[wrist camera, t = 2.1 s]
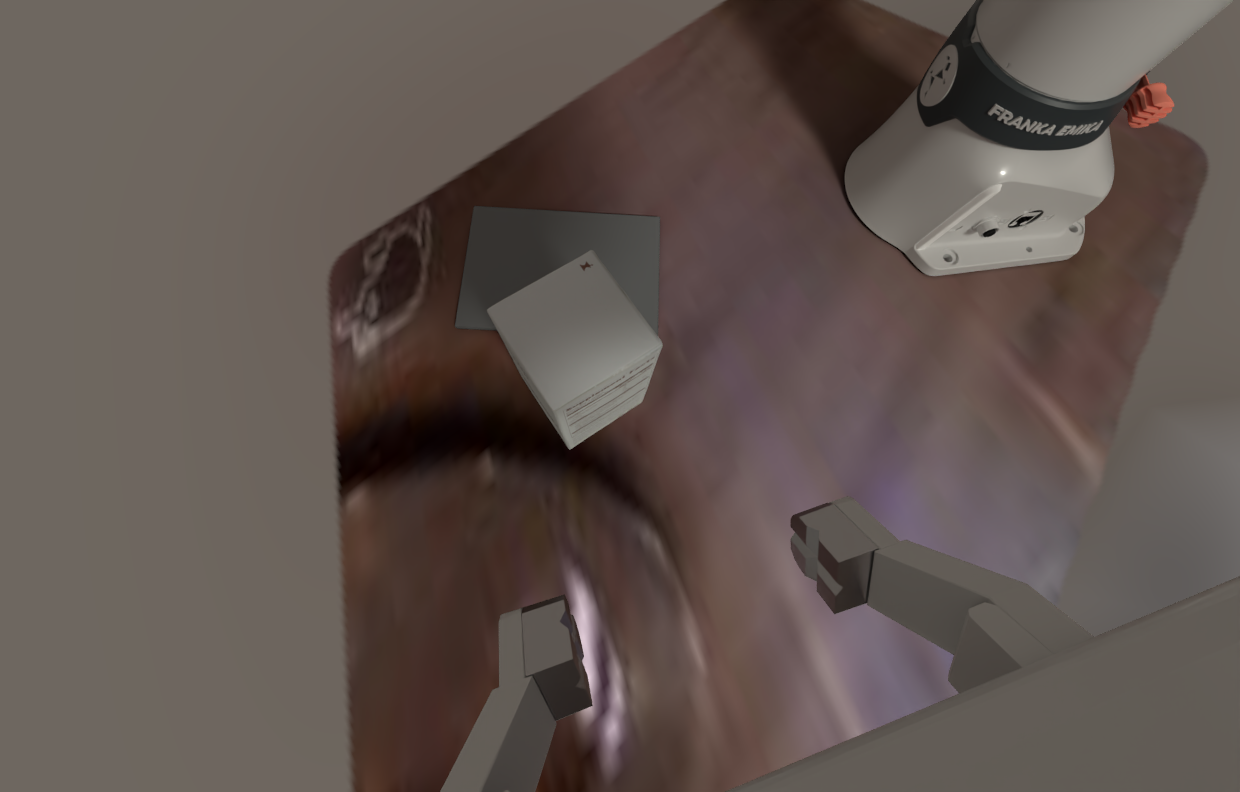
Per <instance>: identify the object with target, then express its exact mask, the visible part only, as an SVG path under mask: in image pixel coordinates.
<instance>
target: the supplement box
mask: <svg viewBox="0 0 1240 792" xmlns="http://www.w3.org/2000/svg"><path fill="white" fill-rule="evenodd" d="M487 312H488V314H489V316H490V318H491V320H492V322H493V323H494V325H495V327H496V329H497V331H498V333H499V334H500V336H501V338H502V340H503V342H504V344H505V346H506V348H507V350H508V352H509V354H510V356H511V358H512V359H513V361H514V363H515V365H516V367H517V369H518V371H519V373H520V375H521V376H522V378H523V380H524V381H525V383H526V384H527V386H528V387H529V389H530V390H531V392H532V394H533V395H534V397H535V398H536V400H537V401H538V403H539V404H540V406H541V407H542V409H543V410H544V412H545V413H546V415H547V417H548V418H549V420H550V421H551V423H552V424H553V426H554V427H555V429H556V430H557V432H558V433H559V435H560V436H561V438H562V439H563V441H564V442H565V444H566V446H567V447H568V449H572V448H573V447H575V446H576V445H578V444H579V443H581V442H582V441H584V440H585V439H587V438H588V437H590V436H591V435H593V434H594V433H596V432H597V431H599V430H600V429H602V428H603V427H605V426H606V425H608V424H609V423H611V422H613V421H614V420H616V419H617V418H619V417H620V416H622V415H623V414H625V413H626V412H628V411H629V410H631V409H632V408H634V407H635V406H637V405H638V404H640V403H641V402H642V401H643V398H644V396H645V393H646V390H647V388H648V385H649V382H650V379H651V376H652V373H653V370H654V367H655V364H656V362H657V359H658V356H659V353H660V351H661V349H662V347H663V344H662V342H661V340H660V339H659V337H658V336H657V335H656V333H655V332H654V331H653V329H652V328H651V327H650V325H649V324H648V323H647V322H646V320H645V319H644V318H643V316H642V315H641V314H640V312H639V311H638V310H637V308H636V307H635V306H634V304H633V303H632V302H631V300H630V299H629V297H628V296H627V294H626V293H625V292H624V290H623V289H622V288H621V287H620V286H619V284H618V283H617V282H616V280H615V279H614V278H613V276H612V275H611V274H610V272H609V271H608V270H607V268H606V267H605V266H604V264H603V263H602V262H601V260H600V259H599V258H598V256H597V255H596V253H595V252H594V251H593V250H590V251H588V252H587V253H585V254H583V255H582V256H580V257H578V258H576V259H575V260H573V261H571V262H569V263H567V264H566V265H564V266H562V267H560V268H559V269H557V270H555V271H553V272H551V273H550V274H548V275H546V276H544V277H542V278H541V279H539V280H537V281H535V282H534V283H532V284H530V285H528V286H526V287H525V288H523V289H521V290H519V291H518V292H516V293H514V294H512V295H510V296H509V297H507V298H505V299H503V300H501V301H500V302H498V303H496V304H495V305H493V306H491V307H490V308H488V309H487Z"/></svg>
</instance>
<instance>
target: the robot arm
mask: <svg viewBox="0 0 1240 792" xmlns="http://www.w3.org/2000/svg"><path fill="white" fill-rule="evenodd" d="M1232 1H1233V0H976V1H975V3H974V4H973V5H972V7H971V8H970V9H969V11H968V12H967V14H966V15H965V16H964V17H963V19H962V20H961V21H960V23H959V24H958V25H957V27H956V28H955V30H954V31H953V32H952V34H951V35H950V37H949V38H948V39H947V41H946V42H945V43H944V45H943V46H942V48H941V49H940V51H939V52H938V54H937V55H936V57H935V58H934V60H933V62H932V63H931V65H930V66H929V68H928V70H927V71H926V73H925V75H924V77H923V79H922V80H921V82H920V84H919V85H918V87H917V88H916V89H915V90H914V91H913V92H912V94H911V95H910V96H909V97H908V98H907V99H906V100H905V102H904V103H903V104H902V105H901V106H900V107H899V108H898V109H897V110H896V111H895V112H894V114H893V115H892V116H891V117H890V118H889V119H888V120H887V121H886V122H885V123H884V124H883V125H882V126H881V127H880V128H879V129H878V130H877V131H875V132H874V133H873V134H872V135H871V136H870V137H869V138H868V139H866V140H865V141H864V142H863V143H862V144H860V145H859V146H858V147H857V148H856V149H855V150H854V152H853V153H852V154H851V156H850V158H849V160H848V162H847V165H846V170H845V188H846V192H847V196H848V198H849V201H850V203H851V205H852V207H853V209H854V210H855V212H856V213H857V215H858V216H859V218H860V219H861V220H862V221H863V222H864V223H865V225H866V226H867V227H869V228H870V229H871V230H872V231H873V232H874V233H875V234H877V235H878V236H879V237H881V238H882V239H884V240H886V241H887V242H889V243H891V244H892V245H894V246H896V247H897V248H899V249H900V250H901V251H903V252H904V253H905V254H906V255H907V257H908V258H909V259H910V260H911V261H912V262H913V264H914V265H915V266H916V267H917V268H918V269H919V270H920V271H922V272H923V273H925V274H927V275H929V276H940V275H948V274H956V273H965V272H973V271H981V270H989V269H997V268H1005V267H1013V266H1022V265H1030V264H1038V263H1046V262H1054V261H1061V260H1066V259H1069V258H1070V257H1072V256H1073V255H1075V254H1076V253H1077V252H1078V251H1079V249H1080V247H1081V245H1082V242H1083V238H1084V232H1085V218H1084V216H1085V215H1086V214H1088V213H1089V212H1090V211H1092V210H1093V209H1094V208H1096V207H1097V206H1098V205H1099V204H1100V203H1101V202H1102V201H1103V200H1104V198H1105V197H1106V196H1107V194H1108V192H1109V191H1110V189H1111V186H1112V183H1113V178H1114V160H1113V153H1112V146H1111V139H1110V131H1109V125H1110V124H1111V122H1112V121H1113V120H1114V118H1115V117H1116V116H1117V114H1118V113H1119V112H1120V110H1121V109H1122V108H1124V109H1125V110H1126V111H1127V112H1128V122H1129V126H1130V127H1132V128H1141V127H1145V126H1148V125H1149V124H1148V123H1155V122H1157V121H1159V119H1158V118H1164V117H1165V116H1167V114H1166V113H1170V112H1171V111H1172V107H1174V103H1173V101H1172V99H1171V98H1170V97H1169V96H1168V95H1167V93H1166V89H1167V87H1166V85H1165V84H1164V83H1154V84H1149V82H1148V79H1147V76H1146V75H1147V74H1148V73H1149V72H1150V70H1151V69H1152V68H1153V67H1154V66H1155V65H1157V64H1158V63H1159V62H1160V61H1162V60H1163V59H1164V58H1165V57H1166V56H1168V55H1169V54H1170V53H1171V52H1172V51H1173V50H1175V49H1176V48H1177V47H1178V46H1180V45H1181V44H1182V43H1183V42H1184V41H1186V40H1187V39H1188V38H1189V37H1190V36H1192V35H1193V34H1194V33H1195V32H1196V31H1198V30H1199V29H1200V28H1201V27H1202V26H1204V25H1205V24H1206V23H1207V22H1208V21H1210V20H1211V19H1212V18H1213V17H1214V16H1216V15H1217V14H1218V13H1219V12H1220V11H1222V10H1223V9H1224V8H1225V7H1226V6H1228V5H1229V4H1230V3H1231V2H1232ZM791 528H792V529H793V530H794V531H795V533H794V535H793V536H792V538H791V550H792V553H793V556H794V559H795V561H796V563H797V565H798V566H799V568H800V569H801V571H802V572H803V573H804V575H805V576H806V577H809V578H811V579H813V580H815V581H817V592H818V593H819V595H820V596H821V597H822V599H823V600H824V601H825V602H826V604H827V605H828V606H829V608H830V609H831V610H832V612H833V613H834V614H837V613H839V612H842V611H845V610H848V609H851V608H854V607H857V606H860V605H863V604H866V603H867V605H868V606H870V607H872V608H873V609H875V610H877V611H879V612H880V613H882V614H884V615H885V616H887V617H889V618H891V619H892V620H894V621H896V622H898V623H899V624H901V625H903V626H905V627H906V628H908V629H910V630H911V631H913V632H915V633H917V634H918V635H920V636H922V637H924V638H925V639H927V640H929V641H931V642H932V643H934V644H936V645H937V646H939V647H941V648H943V649H944V650H946V651H948V652H950V653H951V654H953V655H954V657H953V660H952V664H951V667H950V670H949V674H948V681H949V682H950V683H951V685H952V686H953V687H954V688H955V689H956V690H957V691H958V693H959V694H957V695H955V696H952V697H950V698H947V699H945V700H943V701H940V702H938V703H936V704H933V705H931V706H928V707H926V708H924V709H921V710H919V711H916V712H914V713H912V714H909V715H907V716H904V717H902V718H900V719H897V720H895V721H893V722H890V723H888V724H885V725H883V726H881V727H878V728H876V729H873V730H871V731H869V732H866V733H864V734H861V735H859V736H857V737H854V738H852V739H850V740H847V741H845V742H842V743H840V744H838V745H835V746H833V747H830V748H828V749H826V750H823V751H821V752H818V753H816V754H814V755H811V756H809V757H807V758H804V759H802V760H799V761H797V762H795V763H792V764H790V765H787V766H785V767H783V768H780V769H778V770H775V771H773V772H771V773H768V774H766V775H764V776H761V777H759V778H756V779H754V780H752V781H749V782H747V783H744V784H742V785H740V786H737V787H735V788H732V789H730V790H728V791H725V792H1240V576H1239V577H1237V578H1234V579H1232V580H1230V581H1227V582H1225V583H1223V584H1220V585H1217V586H1215V587H1213V588H1210V589H1208V590H1206V591H1203V592H1201V593H1198V594H1196V595H1194V596H1191V597H1189V598H1186V599H1184V600H1182V601H1179V602H1177V603H1174V604H1172V605H1170V606H1167V607H1165V608H1163V609H1160V610H1158V611H1156V612H1153V613H1151V614H1149V615H1146V616H1144V617H1141V618H1139V619H1136V620H1134V621H1132V622H1129V623H1127V624H1124V625H1122V626H1120V627H1117V628H1115V629H1112V630H1110V631H1108V632H1105V633H1103V634H1100V635H1098V636H1096V637H1094V636H1092V635H1091V634H1090V633H1089V632H1087V631H1086V630H1085V629H1084V628H1082V627H1081V626H1080V625H1079V624H1077V623H1076V622H1075V621H1073V620H1072V619H1071V618H1070V617H1068V616H1067V615H1066V614H1065V613H1063V612H1062V611H1061V610H1059V609H1058V608H1057V607H1056V606H1054V605H1053V604H1052V603H1051V602H1049V601H1048V600H1047V599H1046V598H1044V597H1043V596H1042V595H1040V594H1039V593H1038V592H1037V591H1035V590H1034V589H1033V588H1032V587H1030V586H1029V585H1028V584H1025V583H1023V582H1020V581H1017V580H1014V579H1012V578H1009V577H1006V576H1003V575H1001V574H998V573H995V572H993V571H990V570H987V569H984V568H982V567H979V566H976V565H973V564H971V563H968V562H965V561H962V560H960V559H957V558H954V557H951V556H949V555H946V554H943V553H941V552H938V551H935V550H932V549H930V548H927V547H924V546H921V545H919V544H916V543H913V542H910V541H908V540H903V541H899V540H898V539H897V538H896V537H895V536H894V535H892V534H891V533H890V532H889V531H888V530H887V529H886V528H885V527H884V526H883V525H881V524H880V523H879V522H878V521H877V520H876V519H875V518H874V517H873V516H872V515H871V514H869V513H868V512H867V511H866V510H865V509H864V508H863V507H862V506H861V505H860V504H858V503H857V502H856V501H855V500H854V499H853V498H851V497H848V496H847V497H844V498H841V499H838V500H835V501H832V502H830V503H825V504H822V505H820V506H817V507H814V508H811V509H809V510H806V511H803V512H800V513H797V514H795V515H793V516H792V518H791ZM583 657H584V655H583V649H582V644H581V640H580V636H579V632H578V628H577V625H576V622H575V619H574V616H573V615H571V614H570V609H569V603H568V601H567V599H566V596H565V595H561V596H558V597H555V598H552V599H549V600H545V601H542V602H539V603H536V604H533V605H529V606H526V607H523V608H520V609H517V610H514V611H511V612H508V613H505V614H502V615H501V616H500V620H499V687H498V688H496V689H493V690H492V692H491V694H490V696H489V698H488V700H487V702H486V704H485V706H484V708H483V710H482V712H481V714H480V716H479V717H478V719H477V721H476V723H475V725H474V727H473V729H472V731H471V733H470V735H469V737H468V739H467V741H466V743H465V745H464V747H463V749H462V751H461V752H460V754H459V756H458V758H457V760H456V762H455V764H454V766H453V768H452V770H451V772H450V774H449V776H448V778H447V780H446V782H445V784H444V786H443V787H442V789H441V791H440V792H535V790H536V787H537V784H538V781H539V777H540V774H541V771H542V768H543V765H544V762H545V758H546V755H547V752H548V749H549V746H550V743H551V739H552V736H553V733H554V730H555V727H556V722H555V721H557V720H559V719H562V718H564V717H566V716H569V715H571V714H574V713H576V712H579V711H581V710H583V709H586V708H588V707H591V706H593V705H592V699H591V694H590V688H589V682H588V677H587V673H586V671H585V668H584V666H583V663H582V660H583Z"/></svg>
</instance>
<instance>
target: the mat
mask: <svg viewBox="0 0 1240 792" xmlns="http://www.w3.org/2000/svg"><path fill="white" fill-rule="evenodd" d="M659 243H660V217H651V216H634V215H618V214H601V213H584V212H567V211H551V210H534V209H517V208H500V207H483V206H474V209H473V215H472V222H471V228H470V234H469V240H468V247H467V253H466V259H465V265H464V272H463V278H462V284H461V291H460V297H459V303H458V309H457V316H456V322H455V327H456V328H461V329H480V330H497V329H496V327H495V325H494V323H493V322H492V320H491V318H490V316H489V314H488V312H487V309H488V308H490V307H491V306H493V305H495V304H496V303H498V302H500V301H501V300H503V299H505V298H507V297H509V296H510V295H512V294H514V293H516V292H518V291H519V290H521V289H523V288H525V287H526V286H528V285H530V284H532V283H534V282H535V281H537V280H539V279H541V278H542V277H544V276H546V275H548V274H550V273H551V272H553V271H555V270H557V269H559V268H560V267H562V266H564V265H566V264H567V263H569V262H571V261H573V260H575V259H576V258H578V257H580V256H582V255H583V254H585V253H587V252H588V251H590V250H593V251H594V252H595V253H596V255H597V256H598V258H599V259H600V260H601V262H602V263H603V264H604V266H605V267H606V268H607V270H608V271H609V272H610V274H611V275H612V276H613V278H614V279H615V280H616V282H617V283H618V284H619V286H620V287H621V288H622V289H623V290H624V292H625V293H626V294H627V296H628V297H629V299H630V300H631V302H632V303H633V304H634V306H635V307H636V308H637V310H638V311H639V312H640V314H641V315H642V316H643V318H644V319H645V320H646V322H647V323H648V324H649V325H650V327H651V328H652V329H653V331H654V332H655V333H656V335H657V336H658V301H659Z"/></svg>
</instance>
